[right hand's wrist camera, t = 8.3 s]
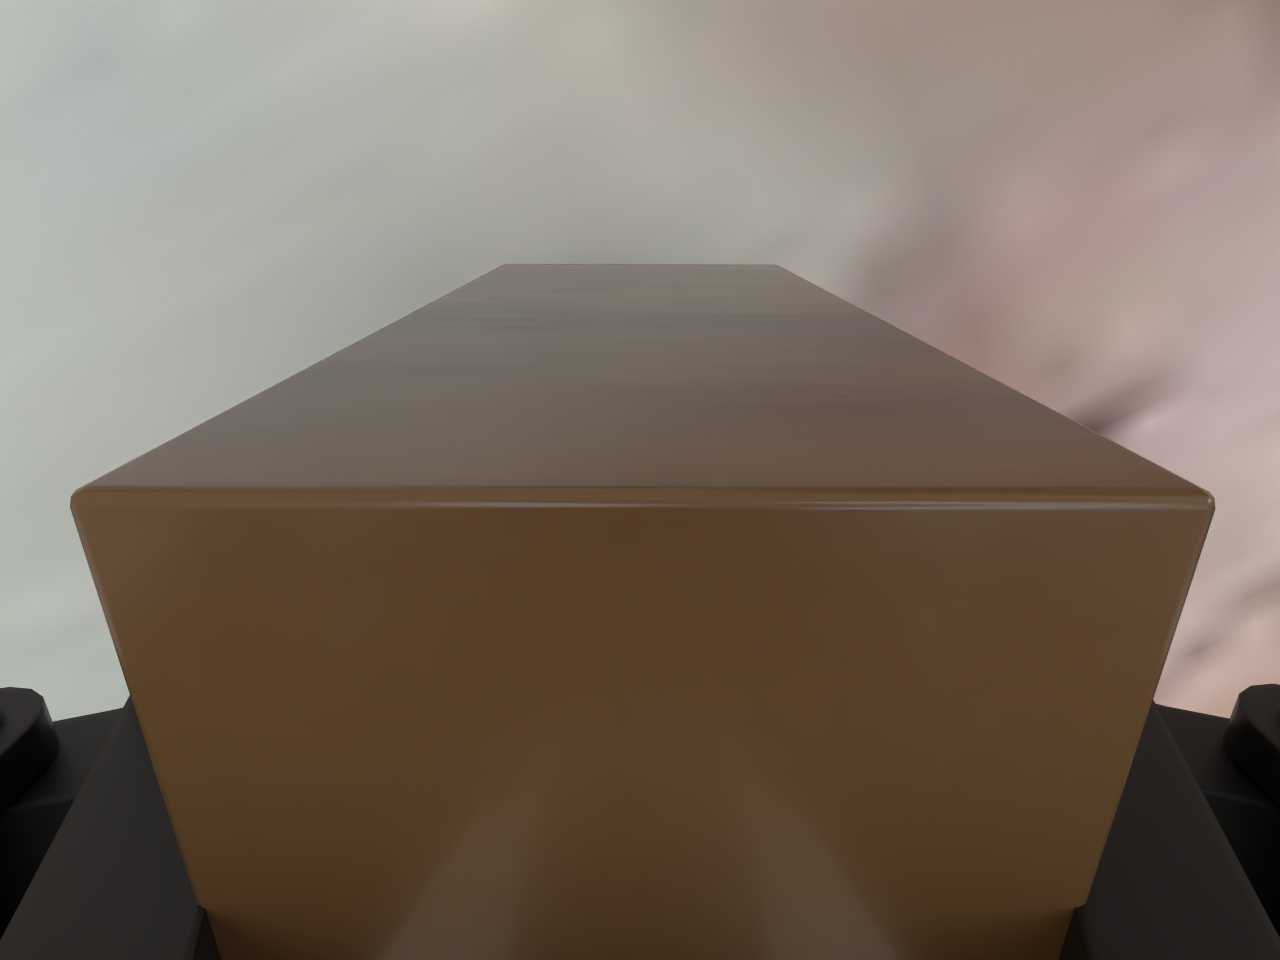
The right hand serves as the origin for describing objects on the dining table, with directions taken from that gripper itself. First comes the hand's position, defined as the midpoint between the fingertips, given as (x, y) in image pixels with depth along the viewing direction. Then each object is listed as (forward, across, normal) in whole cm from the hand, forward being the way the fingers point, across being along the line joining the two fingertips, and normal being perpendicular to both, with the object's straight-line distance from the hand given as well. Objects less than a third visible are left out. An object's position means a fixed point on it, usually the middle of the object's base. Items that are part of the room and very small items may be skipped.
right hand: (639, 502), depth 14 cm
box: (+3, 0, -8) cm, 8 cm away
